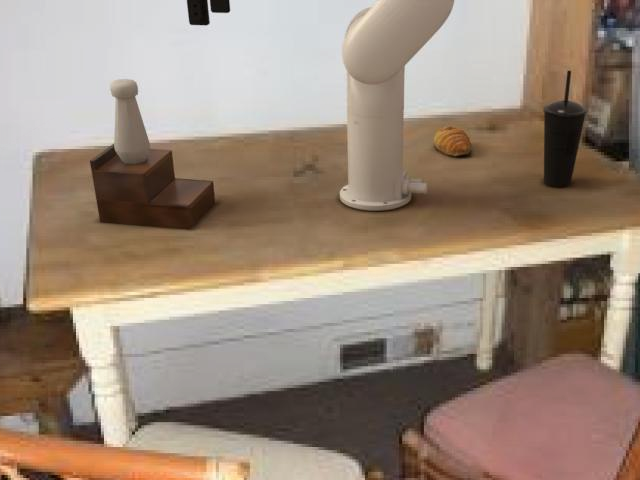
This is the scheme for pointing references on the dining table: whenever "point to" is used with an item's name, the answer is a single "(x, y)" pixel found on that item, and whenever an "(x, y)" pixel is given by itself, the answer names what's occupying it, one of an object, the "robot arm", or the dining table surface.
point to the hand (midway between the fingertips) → (210, 18)
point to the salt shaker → (129, 123)
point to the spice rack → (148, 191)
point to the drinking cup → (562, 138)
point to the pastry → (452, 141)
